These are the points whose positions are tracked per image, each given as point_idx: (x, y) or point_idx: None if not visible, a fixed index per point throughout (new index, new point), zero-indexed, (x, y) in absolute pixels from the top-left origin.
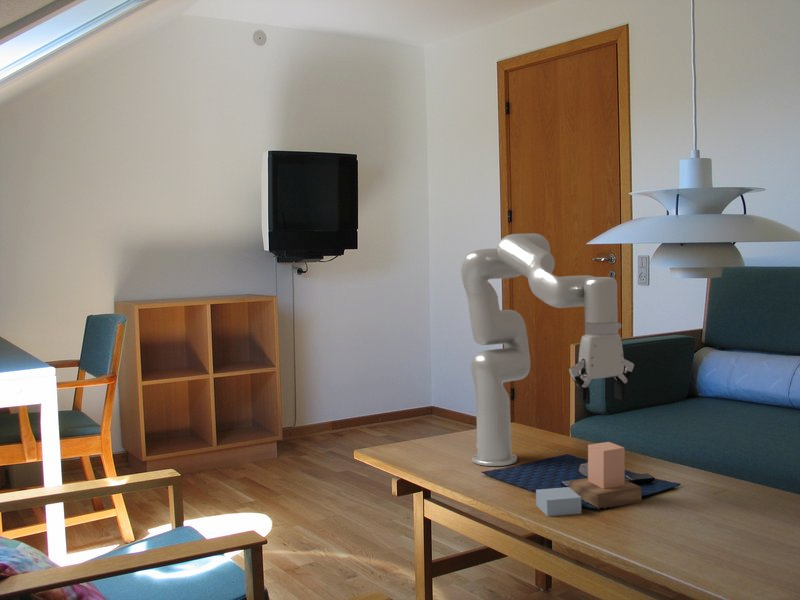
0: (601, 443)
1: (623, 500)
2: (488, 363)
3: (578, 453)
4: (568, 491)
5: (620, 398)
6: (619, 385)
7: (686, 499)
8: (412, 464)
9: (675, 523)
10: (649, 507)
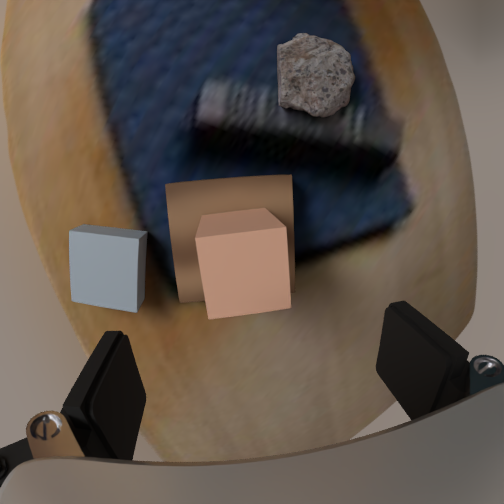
0: (249, 238)
1: None
2: None
3: None
4: (126, 268)
5: (380, 361)
6: (422, 405)
7: (365, 294)
8: None
9: (269, 383)
10: (281, 312)
